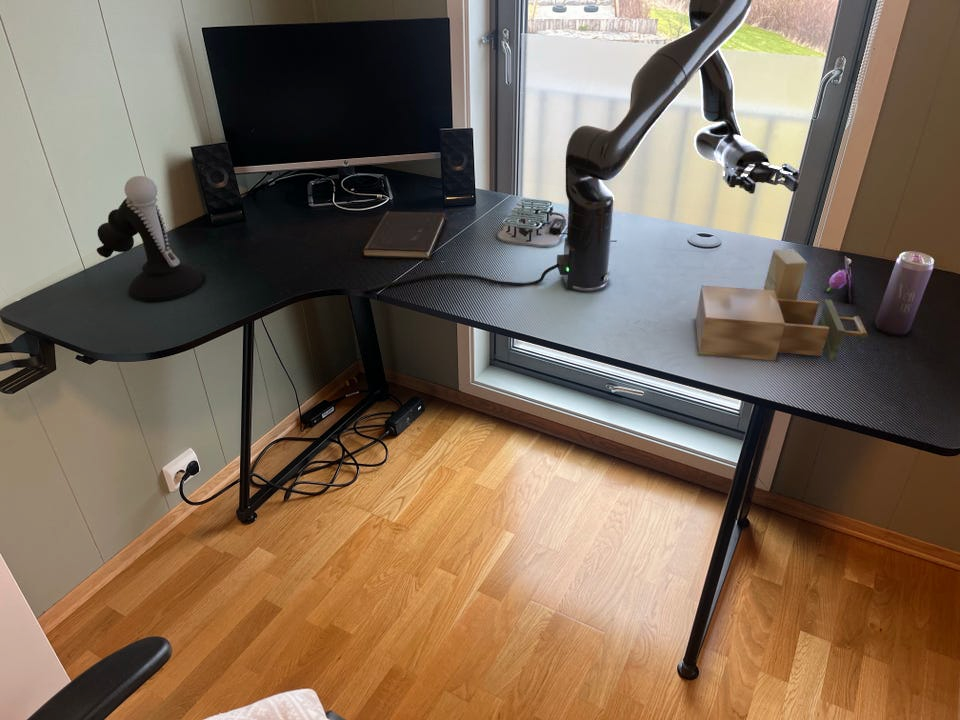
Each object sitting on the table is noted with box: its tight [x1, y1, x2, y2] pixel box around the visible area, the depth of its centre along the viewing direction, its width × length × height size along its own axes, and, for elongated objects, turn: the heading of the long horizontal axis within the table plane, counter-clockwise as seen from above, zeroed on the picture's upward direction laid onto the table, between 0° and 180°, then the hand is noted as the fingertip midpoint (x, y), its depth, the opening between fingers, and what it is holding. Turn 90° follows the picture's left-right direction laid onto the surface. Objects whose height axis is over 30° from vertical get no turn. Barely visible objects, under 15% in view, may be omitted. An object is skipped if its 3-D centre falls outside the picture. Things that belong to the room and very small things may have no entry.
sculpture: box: [96, 175, 204, 303], centre depth 151 cm, size 15×24×25 cm, turn 71°
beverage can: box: [874, 250, 935, 336], centre depth 131 cm, size 6×6×15 cm
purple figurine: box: [826, 255, 852, 304], centre depth 146 cm, size 7×5×9 cm
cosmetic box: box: [762, 248, 808, 300], centre depth 138 cm, size 6×4×12 cm
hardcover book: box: [362, 210, 446, 260], centre depth 174 cm, size 16×23×2 cm
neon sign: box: [497, 198, 618, 248], centre depth 175 cm, size 21×4×29 cm
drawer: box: [777, 298, 869, 361], centre depth 128 cm, size 17×11×6 cm, turn 79°
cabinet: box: [695, 284, 785, 362], centre depth 131 cm, size 13×12×8 cm
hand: (774, 188), depth 140 cm, fingers open, 8 cm apart
